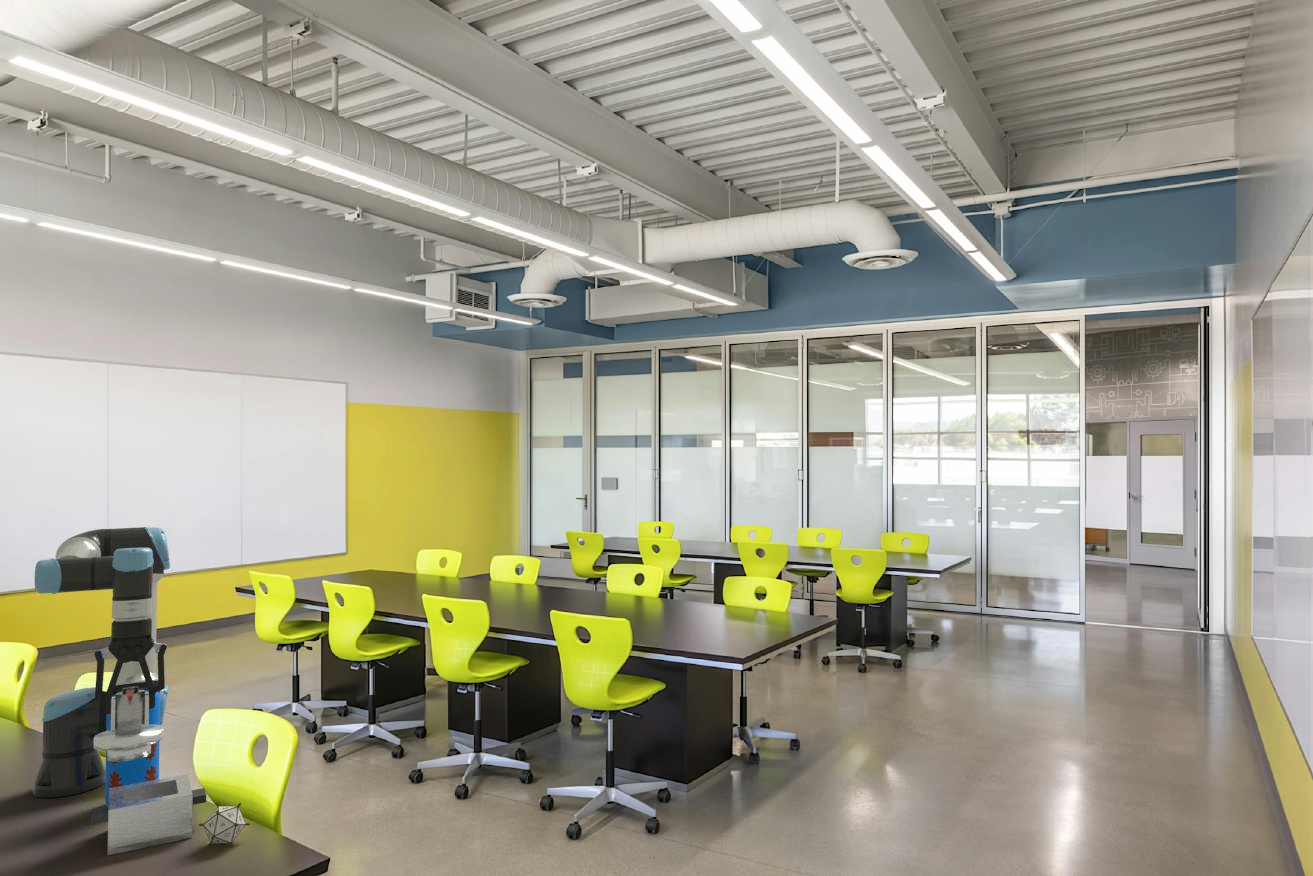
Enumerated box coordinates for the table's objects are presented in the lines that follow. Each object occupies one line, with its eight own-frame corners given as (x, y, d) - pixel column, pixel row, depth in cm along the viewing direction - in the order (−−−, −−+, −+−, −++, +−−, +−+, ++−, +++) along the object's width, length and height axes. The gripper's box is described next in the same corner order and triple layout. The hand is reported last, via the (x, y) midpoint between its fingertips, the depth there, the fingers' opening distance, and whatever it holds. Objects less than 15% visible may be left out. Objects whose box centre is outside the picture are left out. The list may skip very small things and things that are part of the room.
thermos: (132, 813, 191) (134, 703, 192) (93, 810, 193) (95, 701, 194) (169, 796, 202) (171, 691, 203) (131, 793, 204) (133, 689, 205)
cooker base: (92, 833, 180) (92, 791, 181) (202, 811, 192) (202, 771, 192) (89, 859, 168) (90, 813, 168) (207, 834, 179) (208, 791, 180)
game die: (223, 866, 172) (206, 839, 166) (201, 843, 176) (185, 816, 171) (262, 833, 178) (248, 805, 172) (240, 811, 182) (226, 784, 177)
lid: (95, 754, 183) (96, 686, 184) (163, 743, 190) (164, 679, 191) (91, 769, 172) (92, 697, 173) (164, 758, 179) (165, 689, 180)
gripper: (79, 624, 175) (76, 737, 174) (180, 616, 185) (179, 723, 183) (82, 620, 182) (79, 729, 180) (180, 613, 191) (178, 716, 189)
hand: (129, 726), depth 181 cm, fingers closed on lid, 5 cm apart
